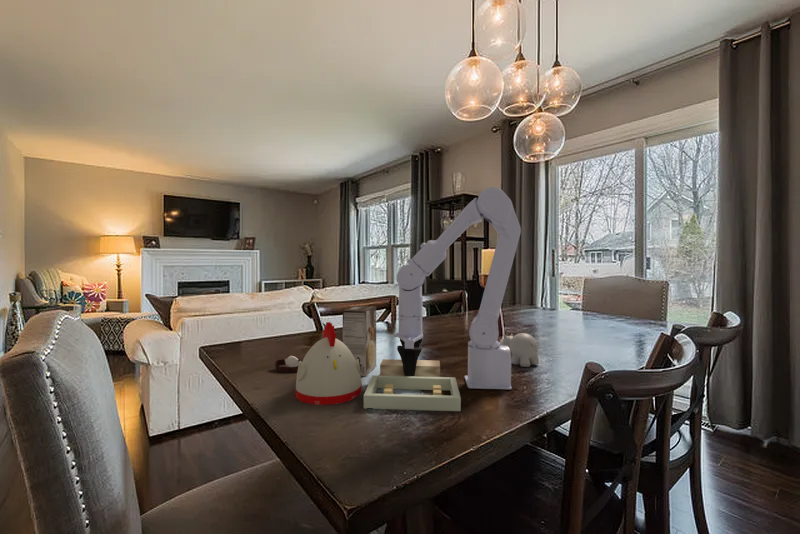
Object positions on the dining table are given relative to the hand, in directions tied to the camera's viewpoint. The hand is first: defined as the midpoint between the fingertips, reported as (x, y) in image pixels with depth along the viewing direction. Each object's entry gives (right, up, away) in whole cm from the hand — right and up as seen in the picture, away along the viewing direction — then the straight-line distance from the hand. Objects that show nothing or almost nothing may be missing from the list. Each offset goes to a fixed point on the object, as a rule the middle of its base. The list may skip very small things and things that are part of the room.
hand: (410, 371), depth 91 cm
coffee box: (-13, -2, +6) cm, 14 cm away
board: (0, -2, 0) cm, 2 cm away
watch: (-31, -2, +6) cm, 31 cm away
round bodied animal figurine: (+30, -2, +14) cm, 33 cm away
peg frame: (0, -2, -13) cm, 13 cm away
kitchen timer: (-18, -2, -10) cm, 20 cm away
